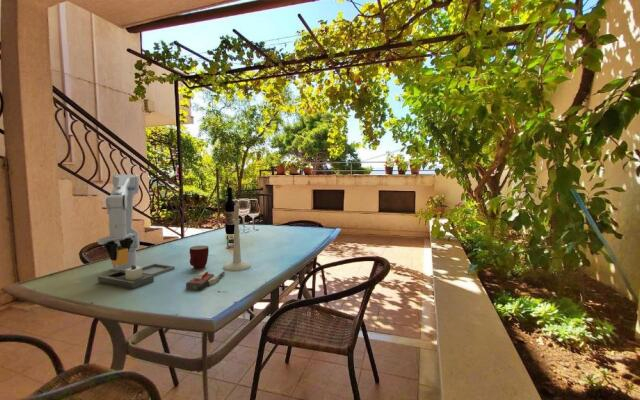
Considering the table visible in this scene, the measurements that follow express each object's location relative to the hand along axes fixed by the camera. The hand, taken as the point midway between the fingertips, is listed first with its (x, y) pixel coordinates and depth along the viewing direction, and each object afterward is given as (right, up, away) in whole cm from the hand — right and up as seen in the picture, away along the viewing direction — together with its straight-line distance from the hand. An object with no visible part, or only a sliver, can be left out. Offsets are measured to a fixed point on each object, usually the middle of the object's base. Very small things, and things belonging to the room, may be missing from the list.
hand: (119, 258), depth 120 cm
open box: (+4, -10, -1) cm, 10 cm away
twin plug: (+8, -9, -3) cm, 13 cm away
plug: (0, -2, 0) cm, 2 cm away
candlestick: (+41, -8, +22) cm, 48 cm away
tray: (+7, -9, +12) cm, 17 cm away
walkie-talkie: (+35, -10, +1) cm, 36 cm away
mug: (+25, -9, +17) cm, 31 cm away
